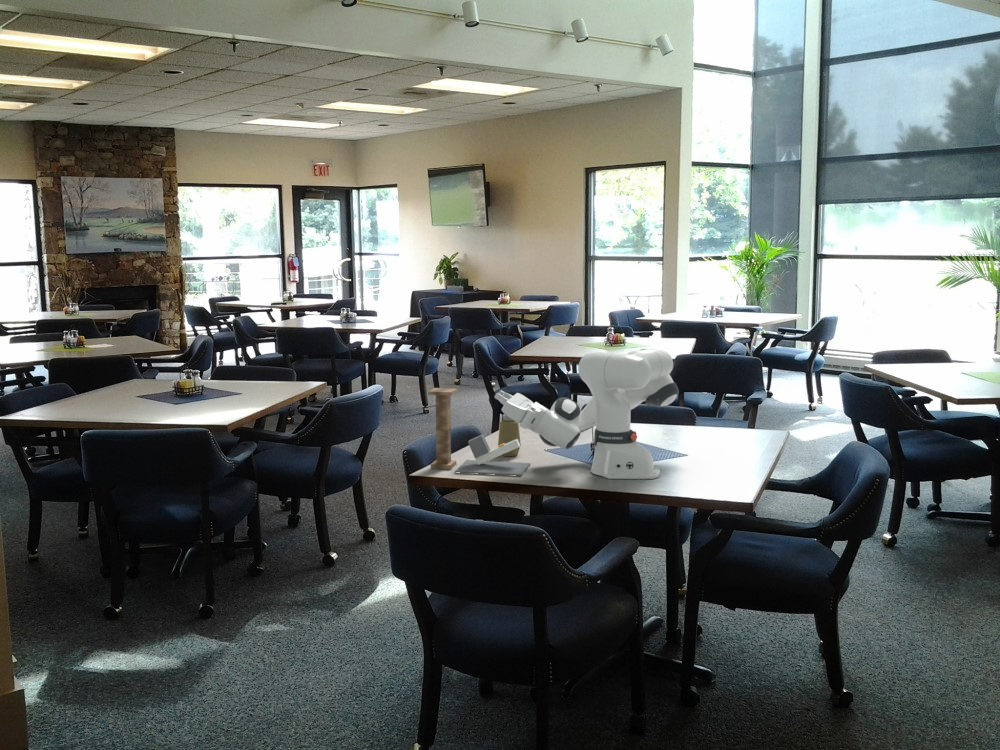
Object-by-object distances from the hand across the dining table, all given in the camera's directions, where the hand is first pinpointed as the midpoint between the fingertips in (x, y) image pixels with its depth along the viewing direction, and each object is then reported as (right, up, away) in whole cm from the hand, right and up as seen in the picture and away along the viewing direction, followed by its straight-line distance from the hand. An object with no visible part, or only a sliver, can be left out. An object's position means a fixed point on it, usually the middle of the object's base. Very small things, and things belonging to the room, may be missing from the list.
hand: (497, 393), depth 305 cm
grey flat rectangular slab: (-1, -25, +4) cm, 25 cm away
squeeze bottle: (+4, -22, +25) cm, 34 cm away
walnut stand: (-18, -25, +7) cm, 31 cm away
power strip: (+1, -21, +6) cm, 22 cm away
